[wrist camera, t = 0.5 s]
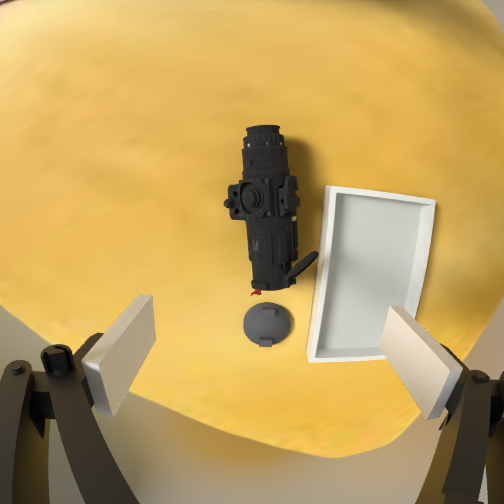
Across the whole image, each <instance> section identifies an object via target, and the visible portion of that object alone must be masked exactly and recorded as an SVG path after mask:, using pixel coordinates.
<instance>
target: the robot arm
mask: <svg viewBox="0 0 504 504" xmlns="http://www.w3.org/2000/svg"><path fill="white" fill-rule="evenodd" d="M155 340H156V333H155V323H154V311H153V297H152V295H143V294H139V295H138V296H137V297H136V298H135V300H134V301H133V302H132V303H131V304H130V305H129V306H128V307H127V308H126V309H125V311H124V312H123V313H122V314H121V315H120V316H119V317H118V318H117V320H116V321H115V322H114V323H113V324H112V325H111V326H110V327H109V329H108V330H107V331H106V332H105V333H104V334H103V333H96V334H94V335H93V336H91V337H89V338H88V339H87V340H86V342H85V343H84V344H83V345H82V346H81V347H80V349H78V350H77V351H76V353H75V354H74V355H72V351H71V349H70V348H69V347H68V346H66V345H62V344H56V345H51V346H48V347H47V348H45V349H44V350H43V351H42V352H41V359H42V363H43V365H44V369H45V371H46V372H38V371H33V370H32V367H31V365H30V363H29V362H27V361H24V360H16V361H13V362H11V363H10V364H8V365H7V366H6V368H5V370H4V373H3V375H2V378H1V381H0V504H50V502H49V486H48V485H49V483H48V448H49V428H50V419H56V421H57V425H58V429H59V432H60V436H61V439H62V443H63V445H64V449H65V452H66V455H67V458H68V461H69V464H70V467H71V470H72V472H73V475H74V478H75V480H76V483H77V485H78V487H79V490H80V492H81V495H82V497H83V499H84V501H85V503H86V504H140V503H139V502H138V500H137V499H136V497H135V496H134V494H133V492H132V491H131V489H130V487H129V485H128V484H127V482H126V480H125V479H124V477H123V475H122V473H121V471H120V470H119V468H118V466H117V464H116V462H115V460H114V458H113V456H112V454H111V452H110V450H109V448H108V446H107V444H106V442H105V440H104V438H103V435H102V433H101V431H100V429H99V427H98V424H97V422H96V420H95V417H94V415H93V413H92V410H91V408H92V406H93V405H95V408H96V411H97V414H101V415H104V416H108V417H112V418H114V416H115V414H116V412H117V410H118V409H119V407H120V405H121V403H122V401H123V399H124V397H125V395H126V393H127V392H128V390H129V388H130V386H131V384H132V382H133V380H134V379H135V377H136V375H137V373H138V371H139V369H140V367H141V366H142V364H143V362H144V360H145V358H146V357H147V355H148V353H149V351H150V349H151V348H152V346H153V344H154V342H155ZM379 348H380V349H381V351H382V352H383V354H384V355H385V357H386V358H387V360H388V361H389V363H390V364H391V366H392V367H393V369H394V370H395V372H396V373H397V375H398V376H399V378H400V379H401V381H402V382H403V384H404V385H405V387H406V388H407V390H408V391H409V393H410V395H411V396H412V398H413V399H414V401H415V402H416V404H417V406H418V407H419V409H420V410H421V412H422V413H423V415H424V417H425V418H426V420H429V419H433V418H437V417H440V415H441V413H442V411H443V409H444V407H446V409H447V410H448V414H447V416H446V417H445V419H444V421H443V423H442V425H441V426H440V428H439V430H441V429H442V432H441V435H440V438H439V442H438V445H437V448H436V451H435V454H434V457H433V460H432V463H431V466H430V469H429V472H428V474H427V477H426V479H425V482H424V484H423V487H422V489H421V492H420V494H419V496H418V498H417V501H416V503H415V504H484V503H483V502H479V501H478V497H479V493H480V489H481V484H482V479H483V473H484V467H485V465H486V475H487V490H488V504H504V417H503V416H504V371H503V372H502V374H501V376H500V378H499V380H490V377H489V376H488V375H487V374H486V373H484V372H482V371H479V370H471V371H470V370H469V369H468V368H467V367H466V366H465V365H464V364H463V363H462V362H461V361H460V360H459V359H458V358H457V357H456V356H455V355H454V354H453V352H452V351H451V350H450V349H449V348H447V347H446V346H444V345H442V344H441V343H438V342H437V341H436V340H435V339H434V338H433V337H432V336H431V335H430V334H429V333H428V332H427V331H426V330H425V329H424V328H423V327H422V326H421V325H420V324H419V323H418V322H417V321H416V320H415V319H414V318H413V317H412V316H411V315H410V314H409V313H408V312H407V311H406V310H405V309H404V308H403V307H402V306H389V310H388V314H387V319H386V323H385V327H384V331H383V334H382V338H381V342H380V346H379ZM442 427H443V428H442Z"/></svg>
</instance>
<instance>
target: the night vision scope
mask: <svg viewBox="0 0 504 504" xmlns="http://www.w3.org/2000/svg"><path fill="white" fill-rule="evenodd" d="M279 128H280V126H277V125H258V126H252V127H248V128H246V130H247V136H246V137H244V138H243V141H244V149H242V157H243V170H244V171H243V172H242V174H243V180H239V184H235V185H229V187H228V198H229V199H226V200H225V201H224V206H225V207H227V208H229V210H230V217H231V219H232V220H245V221H246V227H247V237H248V251H249V260H250V261H251V262H252V271H253V280H252V281H251V284H252V288H254V289H255V291H254V292H253V293H251V295H253V294H257V295H261V290H265V291H275V290H281V289H284V288H289V287H290V285H292V284H296V278H295V277H296V276H298V275H299V274H300V273H301V272H303V271H304V270H305V269H306V268H307V267H308V266H309V265H310V264H311V263H312V262H313V261H314V260H315V259H316V258H317V256H318V254H319V253H318V252H317V251H314V252H312V253H310V254H309V255H307V256H306V257H304V258H303V259H302V260H301V261H300V262H298V263H297V264H296V265H295V266H294V267H293V268H292V264H291V262H292V261H296V260H297V259H298V250H297V247H298V236H297V220H296V207H298V206H300V198H298V196H296V193H295V190H298V184H297V179H296V177H295V176H290V171H289V168H288V160H287V146H285V145H284V136H283V135H281V134H279Z"/></svg>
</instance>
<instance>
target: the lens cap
mask: <svg viewBox="0 0 504 504" xmlns="http://www.w3.org/2000/svg"><path fill="white" fill-rule="evenodd" d="M243 326H244V332H245V334H246V336H247V337H248V338H249V339H250V340H251V341H252V342H254V343H256V344H259V347H272V345H274V344H276V343H278V342H280V341H282V340H283V339H284V338H285V337H286V335H287V334H288V331H289V328H290V322H289V318H288V315H287V313H286V311H285V310H284V309H283V308H282V307H281V306H279V305H277V304H274V303H269V302H265V303H260V304H257V305H255V306H253V307H252V308H251V309H249V311H248V312H247V313H246V315H245V318H244V325H243Z"/></svg>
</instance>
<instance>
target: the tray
mask: <svg viewBox="0 0 504 504" xmlns="http://www.w3.org/2000/svg"><path fill="white" fill-rule="evenodd" d="M435 202H436V200H433V199H427V198H421V197H415V196H408V195H402V194H395V193H388V192H380V191H373V190H365V189H356V188H347V187H338V186H328V185H324V198H323V211H322V222H321V233H320V243H319V254H318V262H317V271H316V280H315V288H314V296H313V303H312V311H311V318H310V325H309V331H308V338H307V344H306V354H307V357H308V361H309V362H345V361H365V360H380V359H387V358H386V357H385V355H384V354H383V352H382V351H381V349H380V348H379V346H380V342H381V338H382V334H383V331H384V327H385V323H386V319H387V314H388V310H389V306H402V307H403V308H404V309H405V310H406V311H407V312H408V313H409V314H410V315H411V316H412V317H413V318H414V319H415V316H416V312H417V308H418V304H419V300H420V295H421V291H422V286H423V281H424V277H425V272H426V266H427V261H428V255H429V249H430V243H431V236H432V228H433V220H434V212H435Z"/></svg>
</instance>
